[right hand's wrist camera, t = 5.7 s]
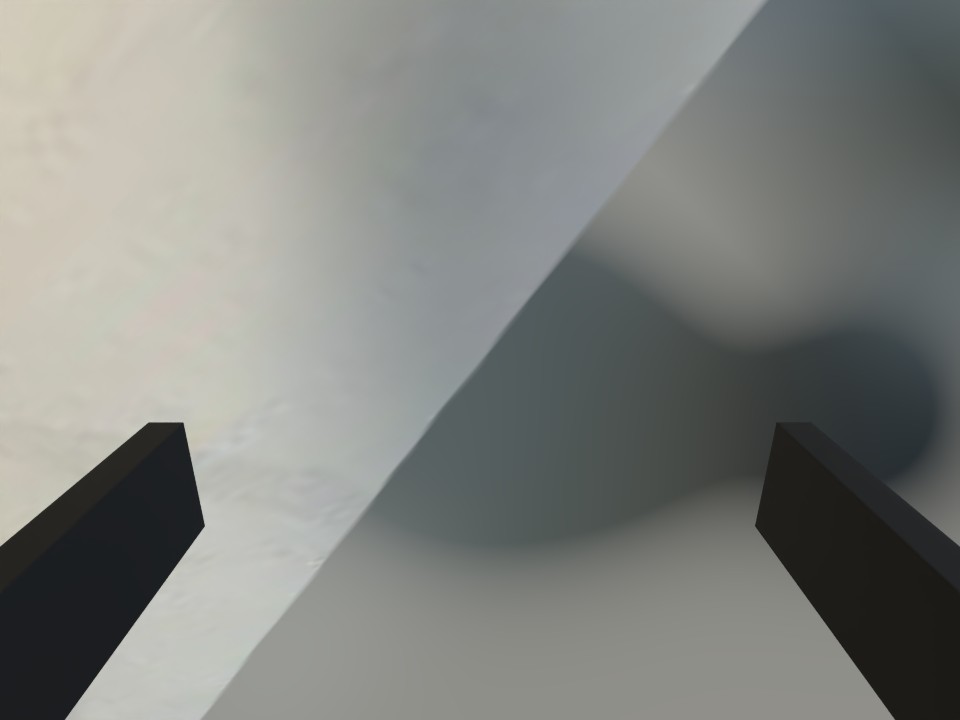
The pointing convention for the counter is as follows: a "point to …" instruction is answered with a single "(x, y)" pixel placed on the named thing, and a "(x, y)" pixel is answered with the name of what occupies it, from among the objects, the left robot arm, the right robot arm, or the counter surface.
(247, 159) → the counter surface
